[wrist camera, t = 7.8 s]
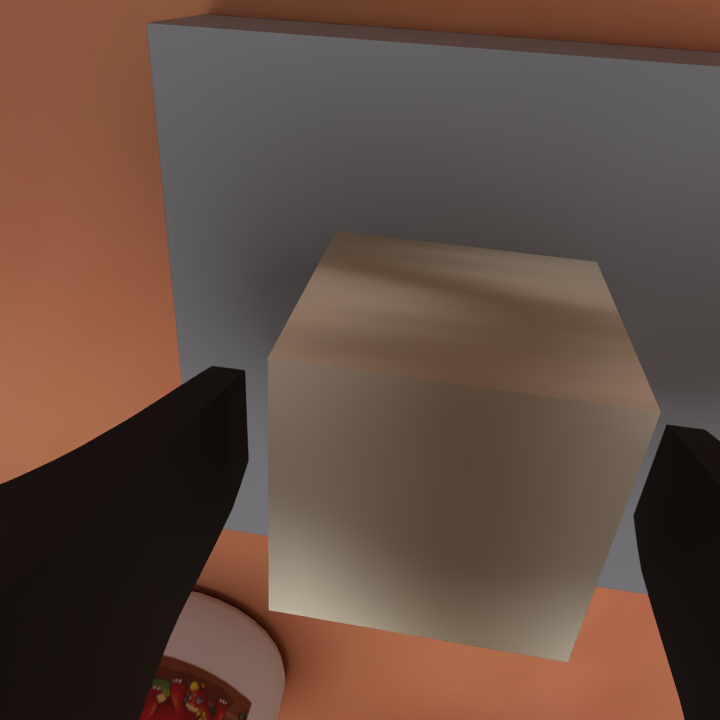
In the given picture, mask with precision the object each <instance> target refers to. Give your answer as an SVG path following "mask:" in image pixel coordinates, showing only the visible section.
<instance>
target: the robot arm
mask: <svg viewBox="0 0 720 720" xmlns="http://www.w3.org/2000/svg"><path fill="white" fill-rule="evenodd" d="M248 462H249V453H248V428H247V402H246V377H245V370H241V369H233V368H225V367H218V366H211V367H209V368H208V369H206V370H204V371H202V372H201V373H199V374H198V375H196V376H195V377H193V378H191V379H190V380H188V381H187V382H185V383H184V384H182V385H181V386H179V387H178V388H176V389H175V390H173V391H172V392H170V393H169V394H167V395H166V396H164V397H162V398H161V399H159V400H158V401H156V402H155V403H153V404H151V405H150V406H148V407H147V408H145V409H144V410H142V411H140V412H139V413H137V414H136V415H134V416H133V417H131V418H129V419H128V420H126V421H124V422H123V423H121V424H119V425H117V426H116V427H114V428H112V429H110V430H109V431H107V432H105V433H103V434H102V435H100V436H98V437H96V438H95V439H93V440H91V441H89V442H88V443H86V444H84V445H82V446H81V447H79V448H77V449H75V450H73V451H71V452H69V453H67V454H65V455H63V456H61V457H59V458H57V459H55V460H53V461H51V462H49V463H47V464H45V465H43V466H41V467H39V468H36V469H34V470H32V471H30V472H28V473H26V474H23V475H21V476H19V477H17V478H14V479H12V480H10V481H8V482H5V483H2V484H0V720H139V719H140V716H141V713H142V711H143V708H144V705H145V702H146V699H147V697H148V694H149V691H150V688H151V686H152V683H153V680H154V678H155V675H156V673H157V670H158V667H159V665H160V662H161V659H162V657H163V654H164V651H165V649H166V646H167V643H168V641H169V638H170V636H171V634H172V632H173V629H174V627H175V625H176V623H177V620H178V618H179V616H180V614H181V612H182V610H183V608H184V606H185V604H186V602H187V600H188V598H189V596H190V594H191V592H192V590H193V588H194V586H195V584H196V582H197V580H198V578H199V576H200V574H201V572H202V570H203V568H204V566H205V564H206V562H207V560H208V558H209V556H210V554H211V552H212V550H213V548H214V546H215V544H216V542H217V540H218V538H219V536H220V534H221V532H222V530H223V527H224V525H225V523H226V521H227V519H228V517H229V515H230V513H231V511H232V509H233V506H234V503H235V500H236V498H237V495H238V492H239V489H240V486H241V483H242V480H243V477H244V474H245V471H246V468H247V465H248ZM633 518H634V526H635V533H636V541H637V548H638V554H639V560H640V566H641V571H642V575H643V578H644V582H645V586H646V589H647V592H648V596H649V599H650V603H651V606H652V609H653V613H654V616H655V620H656V623H657V626H658V629H659V633H660V636H661V639H662V643H663V646H664V649H665V653H666V656H667V659H668V663H669V666H670V669H671V672H672V676H673V679H674V682H675V686H676V689H677V692H678V696H679V699H680V703H681V707H682V711H683V715H684V719H685V720H720V441H719V440H718V439H717V438H715V437H714V436H713V435H712V434H710V433H709V432H708V431H706V430H705V429H698V428H690V427H682V426H675V425H667V424H666V427H665V430H664V433H663V435H662V438H661V441H660V444H659V446H658V449H657V452H656V455H655V457H654V460H653V463H652V466H651V468H650V471H649V474H648V476H647V479H646V482H645V485H644V487H643V490H642V493H641V496H640V498H639V501H638V504H637V507H636V509H635V512H634V515H633Z"/></svg>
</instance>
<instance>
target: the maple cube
mask: <svg viewBox="0 0 720 720" xmlns="http://www.w3.org/2000/svg"><path fill="white" fill-rule="evenodd" d="M660 413H661V411H660V409H659V406H658V404H657V402H656V399H655V397H654V395H653V392H652V390H651V388H650V385H649V383H648V381H647V378H646V376H645V374H644V371H643V369H642V367H641V364H640V362H639V360H638V357H637V355H636V352H635V350H634V348H633V345H632V343H631V341H630V338H629V336H628V334H627V331H626V329H625V327H624V324H623V322H622V320H621V317H620V315H619V313H618V310H617V308H616V306H615V303H614V301H613V299H612V296H611V294H610V291H609V289H608V287H607V284H606V282H605V280H604V277H603V275H602V273H601V270H600V268H599V266H598V263H597V262H595V261H586V260H578V259H569V258H561V257H552V256H544V255H535V254H527V253H519V252H510V251H502V250H493V249H485V248H476V247H468V246H459V245H451V244H443V243H434V242H426V241H417V240H409V239H400V238H392V237H383V236H375V235H366V234H358V233H350V232H341V231H336V232H335V234H334V236H333V238H332V240H331V242H330V244H329V245H328V247H327V249H326V251H325V253H324V255H323V257H322V258H321V260H320V262H319V264H318V266H317V268H316V269H315V271H314V273H313V275H312V277H311V279H310V281H309V282H308V284H307V286H306V288H305V290H304V292H303V294H302V295H301V297H300V299H299V301H298V303H297V305H296V307H295V308H294V310H293V312H292V314H291V316H290V318H289V319H288V321H287V323H286V325H285V327H284V329H283V331H282V332H281V334H280V336H279V338H278V340H277V342H276V344H275V345H274V347H273V349H272V351H271V353H270V355H269V356H268V525H269V610H271V611H277V612H282V613H288V614H294V615H300V616H305V617H311V618H317V619H322V620H328V621H334V622H340V623H345V624H351V625H357V626H363V627H368V628H374V629H380V630H385V631H391V632H397V633H403V634H408V635H414V636H420V637H426V638H431V639H437V640H443V641H448V642H454V643H460V644H466V645H471V646H477V647H483V648H489V649H494V650H500V651H506V652H511V653H517V654H523V655H529V656H534V657H540V658H546V659H552V660H557V661H563V662H568V661H569V658H570V655H571V652H572V650H573V647H574V644H575V642H576V639H577V636H578V634H579V631H580V628H581V626H582V623H583V620H584V617H585V615H586V612H587V609H588V607H589V604H590V601H591V599H592V596H593V593H594V591H595V588H596V585H597V582H598V580H599V577H600V574H601V572H602V569H603V566H604V564H605V561H606V558H607V556H608V553H609V550H610V547H611V545H612V542H613V539H614V537H615V534H616V531H617V529H618V526H619V523H620V521H621V518H622V515H623V512H624V510H625V507H626V504H627V502H628V499H629V496H630V494H631V491H632V488H633V486H634V483H635V480H636V477H637V475H638V472H639V469H640V467H641V464H642V461H643V459H644V456H645V453H646V451H647V448H648V445H649V442H650V440H651V437H652V434H653V432H654V429H655V426H656V424H657V421H658V418H659V416H660Z"/></svg>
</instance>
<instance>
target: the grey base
mask: <svg viewBox="0 0 720 720" xmlns="http://www.w3.org/2000/svg"><path fill="white" fill-rule="evenodd" d="M147 33H148V43H149V53H150V63H151V73H152V84H153V94H154V104H155V114H156V124H157V134H158V145H159V155H160V165H161V175H162V185H163V195H164V206H165V216H166V226H167V236H168V246H169V257H170V267H171V277H172V287H173V297H174V307H175V318H176V328H177V338H178V348H179V358H180V369H181V379H182V384H184V383H185V382H187V381H188V380H190V379H191V378H193V377H195V376H196V375H198V374H199V373H201V372H202V371H204V370H206V369H208V368H209V367H211V366H218V367H225V368H233V369H241V370H245V377H246V402H247V428H248V453H249V462H248V465H247V468H246V471H245V474H244V477H243V480H242V483H241V486H240V489H239V492H238V495H237V498H236V500H235V503H234V506H233V509H232V511H231V513H230V515H229V517H228V519H227V521H226V523H225V525H224V527H223V529H228V530H234V531H241V532H247V533H254V534H260V535H266V536H269V525H268V356H269V355H270V353H271V351H272V349H273V347H274V345H275V344H276V342H277V340H278V338H279V336H280V334H281V332H282V331H283V329H284V327H285V325H286V323H287V321H288V319H289V318H290V316H291V314H292V312H293V310H294V308H295V307H296V305H297V303H298V301H299V299H300V297H301V295H302V294H303V292H304V290H305V288H306V286H307V284H308V282H309V281H310V279H311V277H312V275H313V273H314V271H315V269H316V268H317V266H318V264H319V262H320V260H321V258H322V257H323V255H324V253H325V251H326V249H327V247H328V245H329V244H330V242H331V240H332V238H333V236H334V234H335V232H336V231H341V232H350V233H358V234H366V235H375V236H383V237H392V238H400V239H409V240H417V241H426V242H434V243H443V244H451V245H459V246H468V247H476V248H485V249H493V250H502V251H510V252H519V253H527V254H535V255H544V256H552V257H561V258H569V259H578V260H586V261H595V262H597V263H598V266H599V268H600V270H601V273H602V275H603V277H604V280H605V282H606V284H607V287H608V289H609V291H610V294H611V296H612V299H613V301H614V303H615V306H616V308H617V310H618V313H619V315H620V317H621V320H622V322H623V324H624V327H625V329H626V331H627V334H628V336H629V338H630V341H631V343H632V345H633V348H634V350H635V352H636V355H637V357H638V360H639V362H640V364H641V367H642V369H643V371H644V374H645V376H646V378H647V381H648V383H649V385H650V388H651V390H652V392H653V395H654V397H655V399H656V402H657V404H658V406H659V409H660V411H661V413H660V416H659V418H658V421H657V424H656V426H655V429H654V432H653V434H652V437H651V440H650V442H649V445H648V448H647V451H646V453H645V456H644V459H643V461H642V464H641V467H640V469H639V472H638V475H637V477H636V480H635V483H634V486H633V488H632V491H631V494H630V496H629V499H628V502H627V504H626V507H625V510H624V512H623V515H622V518H621V521H620V523H619V526H618V529H617V531H616V534H615V537H614V539H613V542H612V545H611V547H610V550H609V553H608V556H607V558H606V561H605V564H604V566H603V569H602V572H601V574H600V577H599V580H598V582H597V585H596V586H597V587H603V588H610V589H616V590H623V591H629V592H636V593H642V594H648V592H647V589H646V586H645V582H644V578H643V575H642V571H641V566H640V560H639V554H638V548H637V541H636V533H635V526H634V518H633V515H634V512H635V509H636V507H637V504H638V501H639V498H640V496H641V493H642V490H643V487H644V485H645V482H646V479H647V476H648V474H649V471H650V468H651V466H652V463H653V460H654V457H655V455H656V452H657V449H658V446H659V444H660V441H661V438H662V435H663V433H664V430H665V427H666V424H667V425H675V426H682V427H690V428H698V429H705V430H706V431H708V432H709V433H710V434H712V435H713V436H714V437H715V438H717V439H718V440H719V441H720V52H708V51H695V50H681V49H668V48H654V47H641V46H627V45H614V44H600V43H587V42H573V41H560V40H546V39H533V38H519V37H506V36H492V35H479V34H465V33H452V32H438V31H425V30H411V29H398V28H384V27H371V26H357V25H344V24H330V23H317V22H303V21H290V20H276V19H263V18H249V17H236V16H222V15H209V14H205V15H198V16H191V17H185V18H178V19H171V20H164V21H157V22H151V23H147Z"/></svg>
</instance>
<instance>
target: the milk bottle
mask: <svg viewBox="0 0 720 720" xmlns="http://www.w3.org/2000/svg"><path fill="white" fill-rule="evenodd" d="M284 688H285V673H284V667H283V662H282V657H281V655H280V653H279V651H278V648H277V646H276V644H275V643H274V641H273V640H272V639H271V637H270V636H269V635H268V633H267V632H266V631H265V630H264V629H263V628H262V627H261V626H260V625H259V624H258V623H257V622H255V621H254V620H253V619H252V618H250V617H249V616H247V615H246V614H244V613H243V612H242V611H240V610H239V609H237V608H235V607H233V606H231V605H229V604H227V603H225V602H223V601H222V600H219V599H216V598H213V597H210V596H208V595H205V594H203V593H198V592H193V591H192V592H191V594H190V596H189V598H188V600H187V602H186V604H185V606H184V608H183V610H182V612H181V614H180V616H179V618H178V620H177V623H176V625H175V627H174V629H173V632H172V634H171V636H170V638H169V641H168V643H167V646H166V649H165V651H164V654H163V657H162V659H161V662H160V665H159V667H158V670H157V673H156V675H155V678H154V680H153V683H152V686H151V688H150V691H149V694H148V697H147V699H146V702H145V705H144V708H143V711H142V713H141V716H140V719H139V720H277V718H278V714H279V709H280V705H281V701H282V696H283V692H284Z"/></svg>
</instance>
